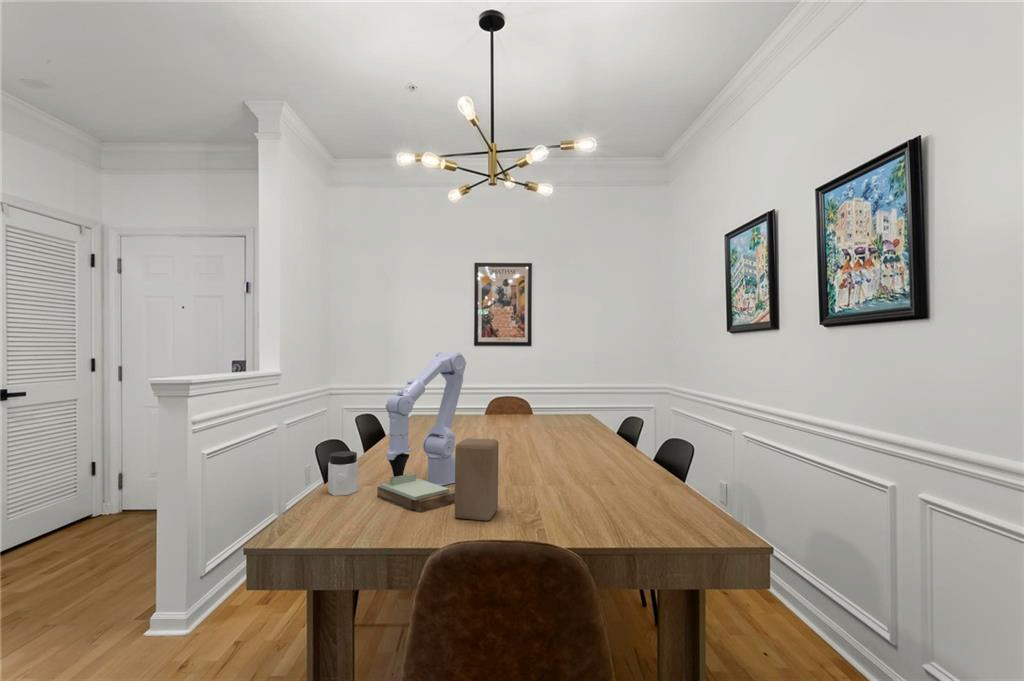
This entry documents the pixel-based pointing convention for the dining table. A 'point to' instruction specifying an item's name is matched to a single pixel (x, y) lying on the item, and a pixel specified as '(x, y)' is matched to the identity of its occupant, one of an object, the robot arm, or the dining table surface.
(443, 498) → the brown wooden tray
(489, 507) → the block
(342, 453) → the jar
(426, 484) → the lid
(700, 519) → the dining table surface
